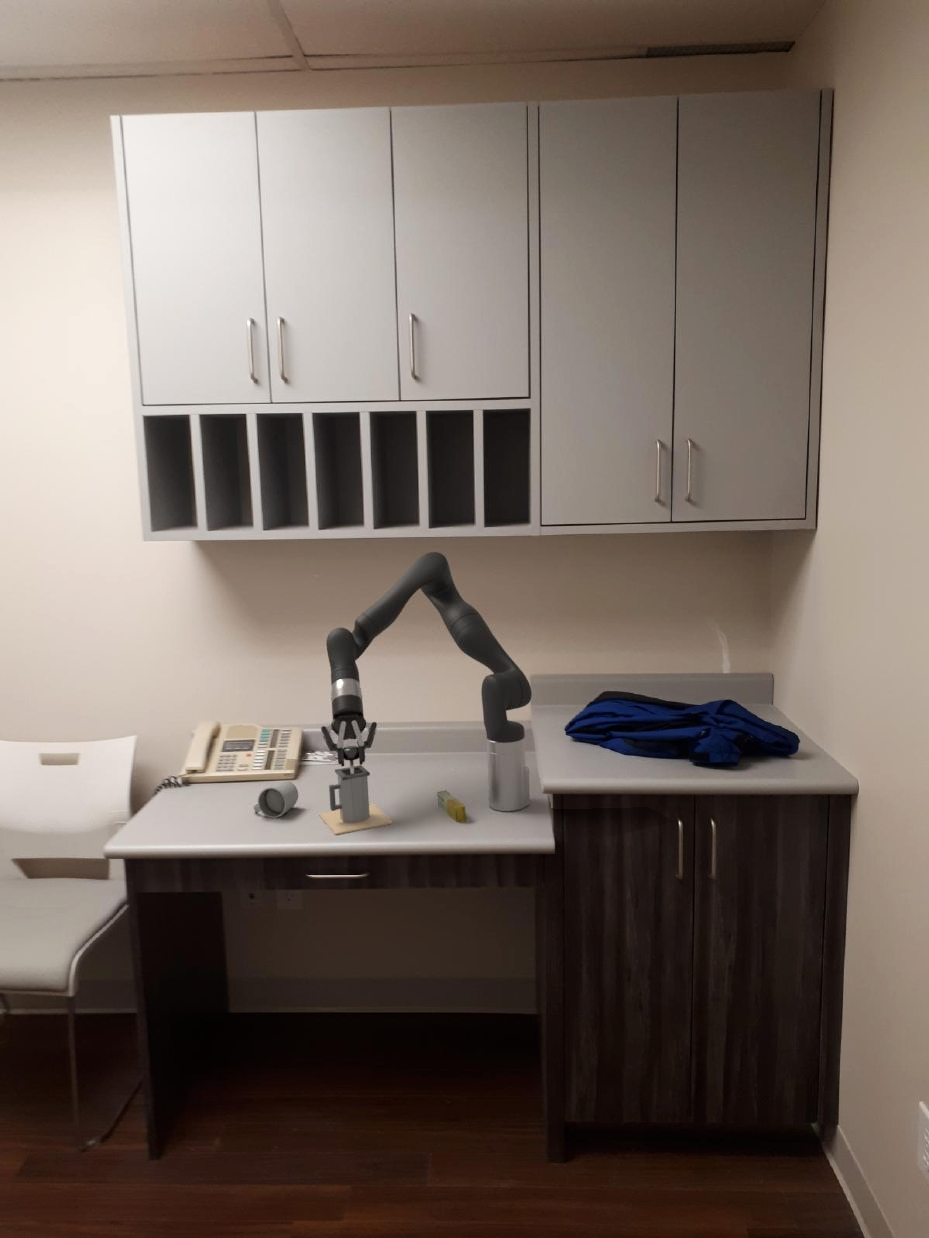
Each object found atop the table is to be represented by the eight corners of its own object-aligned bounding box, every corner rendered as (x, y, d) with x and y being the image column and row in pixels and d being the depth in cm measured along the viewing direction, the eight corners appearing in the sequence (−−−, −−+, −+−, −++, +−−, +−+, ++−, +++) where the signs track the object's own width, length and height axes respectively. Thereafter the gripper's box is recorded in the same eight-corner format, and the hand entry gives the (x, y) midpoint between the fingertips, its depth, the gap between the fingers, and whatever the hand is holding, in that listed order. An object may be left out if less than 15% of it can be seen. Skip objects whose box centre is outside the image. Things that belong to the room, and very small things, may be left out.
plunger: (359, 800, 218) (355, 745, 216) (363, 804, 215) (360, 748, 212) (344, 802, 216) (341, 747, 214) (349, 807, 213) (345, 751, 211)
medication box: (437, 807, 223) (436, 791, 222) (447, 804, 224) (446, 789, 223) (456, 823, 212) (455, 807, 211) (467, 821, 213) (466, 805, 212)
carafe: (373, 804, 225) (370, 758, 223) (392, 823, 213) (389, 774, 211) (318, 815, 220) (315, 767, 218) (335, 835, 207) (331, 785, 205)
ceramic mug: (301, 806, 226) (299, 777, 225) (286, 819, 218) (284, 788, 217) (263, 805, 229) (260, 776, 227) (247, 817, 221) (244, 787, 220)
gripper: (375, 706, 226) (381, 768, 216) (318, 711, 224) (322, 773, 214) (376, 691, 220) (382, 753, 210) (317, 695, 218) (320, 759, 208)
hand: (351, 763), depth 212 cm, fingers open, 3 cm apart
